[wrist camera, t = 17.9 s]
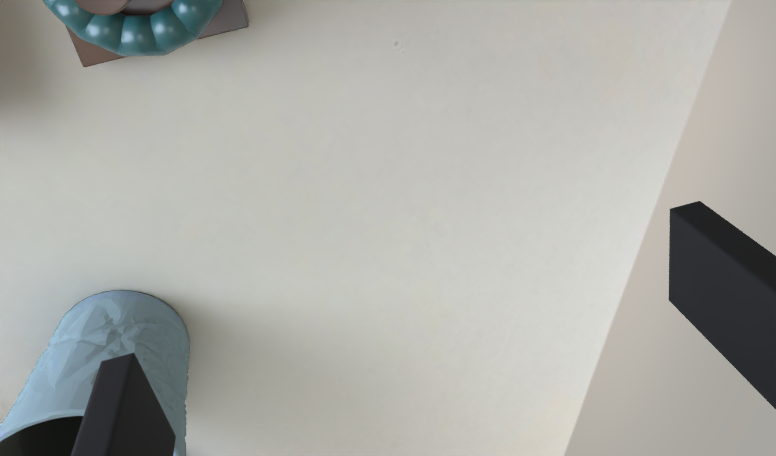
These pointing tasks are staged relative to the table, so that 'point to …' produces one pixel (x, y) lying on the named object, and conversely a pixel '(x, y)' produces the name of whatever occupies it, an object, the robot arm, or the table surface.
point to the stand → (148, 3)
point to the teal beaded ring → (139, 26)
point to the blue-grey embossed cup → (81, 364)
